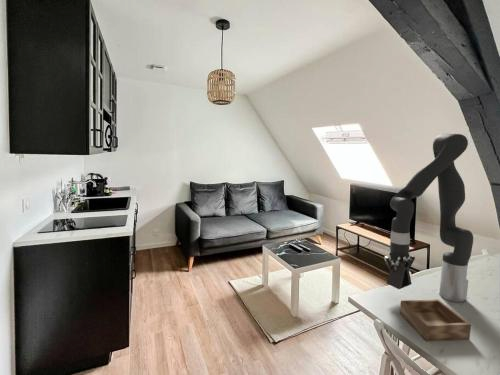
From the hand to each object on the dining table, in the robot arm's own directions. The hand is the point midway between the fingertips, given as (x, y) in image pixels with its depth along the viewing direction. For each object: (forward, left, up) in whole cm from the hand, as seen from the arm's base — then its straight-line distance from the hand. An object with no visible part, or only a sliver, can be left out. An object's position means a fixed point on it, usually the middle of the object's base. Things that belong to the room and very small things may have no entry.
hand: (398, 276), depth 121 cm
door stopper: (0, 0, -3) cm, 3 cm away
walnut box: (-3, +19, -11) cm, 22 cm away
